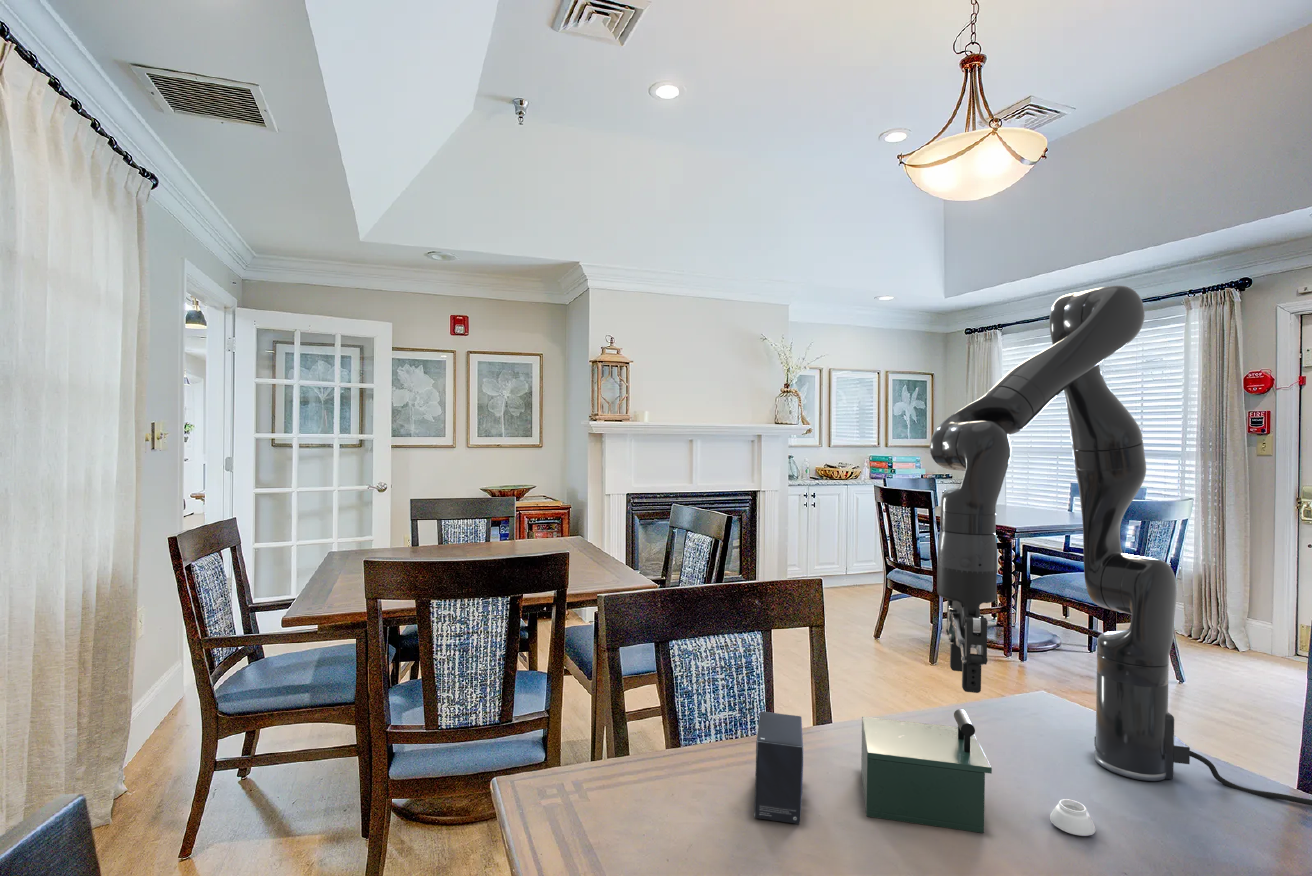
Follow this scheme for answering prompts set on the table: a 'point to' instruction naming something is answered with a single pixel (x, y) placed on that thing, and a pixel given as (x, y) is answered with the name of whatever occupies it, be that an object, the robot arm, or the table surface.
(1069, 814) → the white jar
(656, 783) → the table surface
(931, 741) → the bin lid
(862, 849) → the table surface
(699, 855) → the table surface
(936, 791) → the waste bin
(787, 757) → the small box
